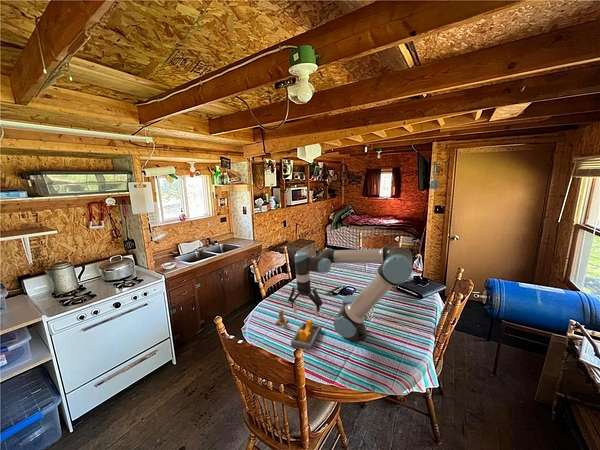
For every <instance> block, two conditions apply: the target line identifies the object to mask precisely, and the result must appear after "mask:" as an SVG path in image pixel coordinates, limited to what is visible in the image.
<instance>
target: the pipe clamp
mask: <svg viewBox="0 0 600 450" xmlns="http://www.w3.org/2000/svg"><path fill="white" fill-rule="evenodd" d="M305 323H306V328H305V330H301V329H300V330H299V341H301V342H305V343H306V342H307V341H308V340H309V338H310V337H311V331H312V324H313V321H312V320H311V319H306V322H305Z"/></svg>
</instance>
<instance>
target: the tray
mask: <svg viewBox="0 0 600 450" xmlns="http://www.w3.org/2000/svg"><path fill="white" fill-rule="evenodd" d="M306 323H307V322H303V321H302V323H301V324H300V326H299V328H298V329H297V330H296V332H295V333H294V335H293V336H292V338H291V340H290V344H291V345H290V346H292V347H296V348H300V349H304V348H306V349H305V350H309V351H312V350H313V348H314V346H315V343H316V341H317V340H318V338H319V336H320V333H321V332H322V325H318V324H313V323H312V331H311V337H310V338H309V340H308V341H307V342H306V343H305V342H301V341H299V330H300V329H301V330H305V328H306Z"/></svg>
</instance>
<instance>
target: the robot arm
mask: <svg viewBox="0 0 600 450" xmlns="http://www.w3.org/2000/svg"><path fill="white" fill-rule="evenodd" d="M413 262H414V259H413V254H412V253H411V252H410V250H409V249H408V248H405V247H403V246H397V245H396V246H395V245H394V246H382V247H381V248H367V249H363V248H362V249H339V250H338V249H332V248H325V249H324V250H323V251H321V253H320V254H319V255H318V256H316V257H314V256H309V253H308V252H306V251H298V252H297V253H295V254H294V264H295V265H294V266H295V267H294V268H295V277H296V278H295V280H296V285H293V286H292V288H291V292H290V295H289V297H288V300H287V301H288V302H290V303H291V309H292V308H293V310H292V311H293V314H296V313H297V312H298V310H297V301H296V300H297V298H299V296H304V297H308V298H309V299H310V300H311V301H312V303H313V304H314V305H315V307H314V308H315V309H314V310H315V317H316V318H318V317H319V312H320V310H321V307H322V306H323V301H322V299H321V297H320V294H318V292H317V288H316V287H315V288H312V287H311V275H310V272H312V273H313V272H314V273H320V274H328V273H330V271H331V268H332V264H334V265H335V264H380V265H379V266H378V268H377V269H376V272H377V274H376V275H375V276H374V277H373V279H371V281H370V282H369V283H368V284H367V285H366V286H365V287H364V289H363V290H362V291H361V292H360V293H359V294H358V295H354V294H349V295H345V296H343V297H342V306H341V308H340V310H339V312H338V313H337V315H336V317H335V318H334V321H333V328H334V330H335V332H336V333H337V334H338V335H339V336H341V337H342V338H343V339H344V340H346V341H349V342H354V343H358V342H362V341H364V340H365V339H366V338H367V335H368V332H367V331H368V330H367V328H366V325H365V323H364V322H365V316H366V315H367V314H368V313H369V312H370V311H371V310H372V308H374V307H375V305H377V303H378V302H380V300H382V298H383V297H384V296H385V295H386V294H387V293H388V292H389V291H390V290H391V289H392V288H397V287H399V286H400V284H403V283H405V282H406V281H408V280H409V279H410V277H411V275H413V274H412V273H413ZM296 291H297V294H296V295H295V292H296ZM294 295H295V296H294Z"/></svg>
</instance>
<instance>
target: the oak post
mask: <svg viewBox="0 0 600 450" xmlns="http://www.w3.org/2000/svg"><path fill="white" fill-rule="evenodd" d="M278 317H279V318H278V319H277V320H276V321H275V325H279V326H283V327H284V326H285V325H286V324H287V322H288V321H289V318H285V317H284V310H283V309H280V310H278Z"/></svg>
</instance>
